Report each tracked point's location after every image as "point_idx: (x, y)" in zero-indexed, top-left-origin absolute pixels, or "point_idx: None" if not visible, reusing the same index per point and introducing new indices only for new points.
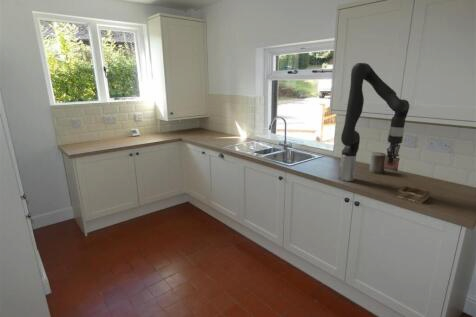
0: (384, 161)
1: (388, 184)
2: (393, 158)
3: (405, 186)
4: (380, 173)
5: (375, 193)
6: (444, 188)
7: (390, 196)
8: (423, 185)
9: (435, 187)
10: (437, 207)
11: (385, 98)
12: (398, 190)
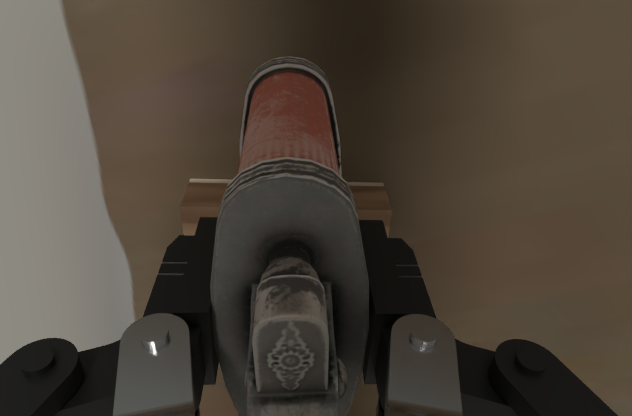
0: None
1: (478, 10)
2: (223, 372)
3: (360, 217)
4: None
5: (92, 9)
6: (613, 339)
7: (147, 143)
8: (618, 242)
9: (608, 303)
10: (217, 379)
11: None
12: (199, 208)
